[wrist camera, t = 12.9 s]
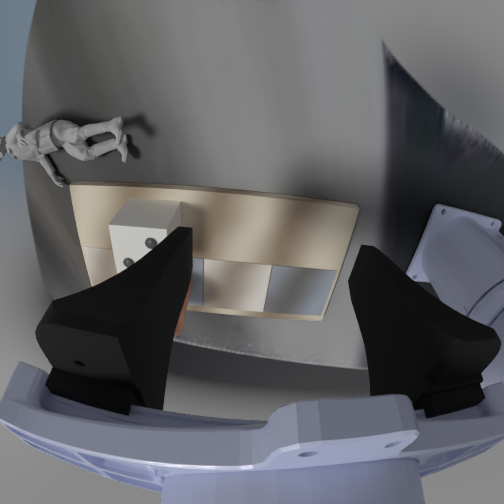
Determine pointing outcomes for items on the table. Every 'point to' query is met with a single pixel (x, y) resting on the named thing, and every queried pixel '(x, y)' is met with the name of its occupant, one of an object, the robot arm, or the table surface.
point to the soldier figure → (62, 142)
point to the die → (141, 228)
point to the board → (234, 245)
